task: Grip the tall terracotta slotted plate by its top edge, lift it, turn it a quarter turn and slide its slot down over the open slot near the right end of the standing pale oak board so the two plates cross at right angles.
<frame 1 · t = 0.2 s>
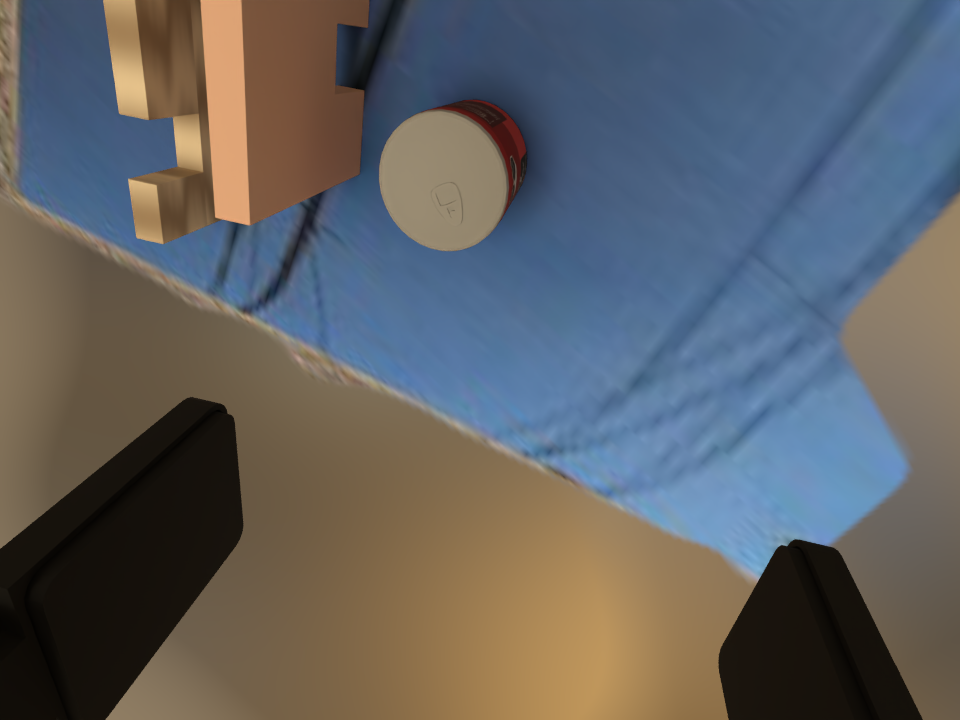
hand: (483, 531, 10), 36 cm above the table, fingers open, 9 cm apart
canned food: (477, 156, 42), on the table
terracotta plate: (352, 57, 40), on the table
oak board: (225, 91, 43), on the table
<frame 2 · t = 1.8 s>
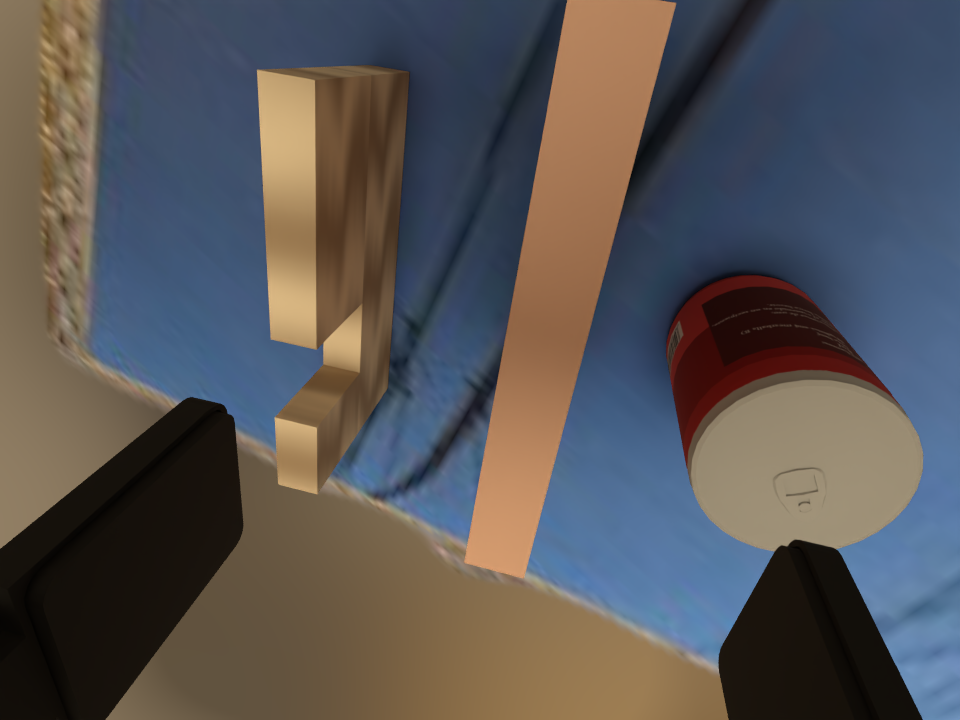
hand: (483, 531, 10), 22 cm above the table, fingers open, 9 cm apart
canned food: (739, 339, 30), on the table
terracotta plate: (573, 211, 28), on the table
oak board: (379, 249, 31), on the table
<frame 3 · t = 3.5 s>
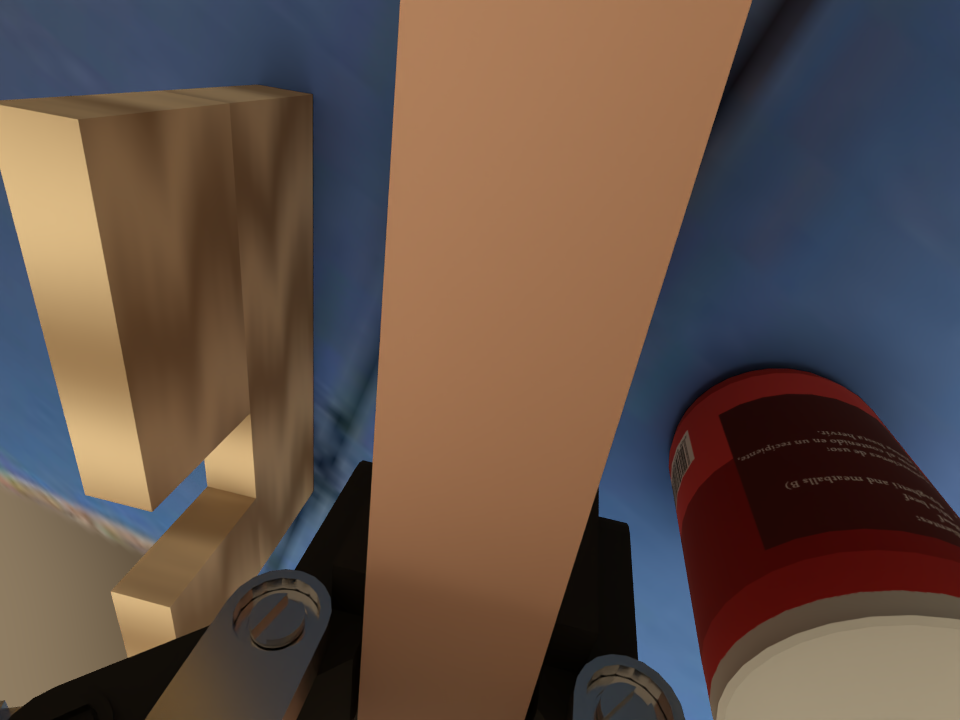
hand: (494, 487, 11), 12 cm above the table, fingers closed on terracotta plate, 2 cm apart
canned food: (765, 446, 23), on the table
terracotta plate: (544, 282, 21), on the table, touching gripper
oak board: (290, 324, 24), on the table
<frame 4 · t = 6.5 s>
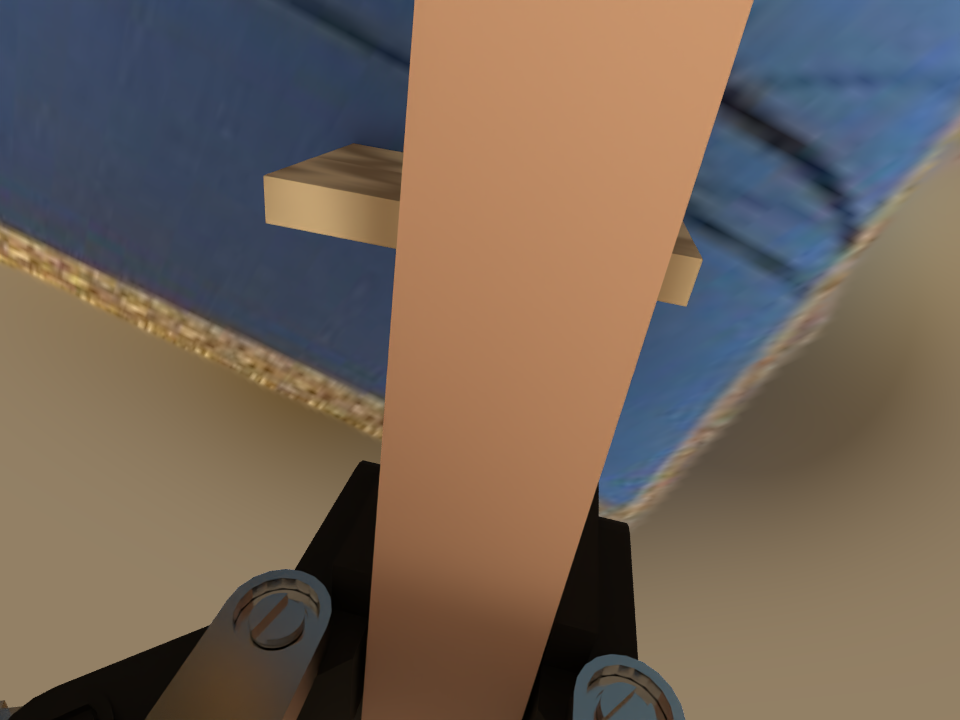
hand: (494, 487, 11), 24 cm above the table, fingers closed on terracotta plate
terracotta plate: (545, 280, 21), point 12 cm above the table, touching gripper
oak board: (505, 190, 32), on the table
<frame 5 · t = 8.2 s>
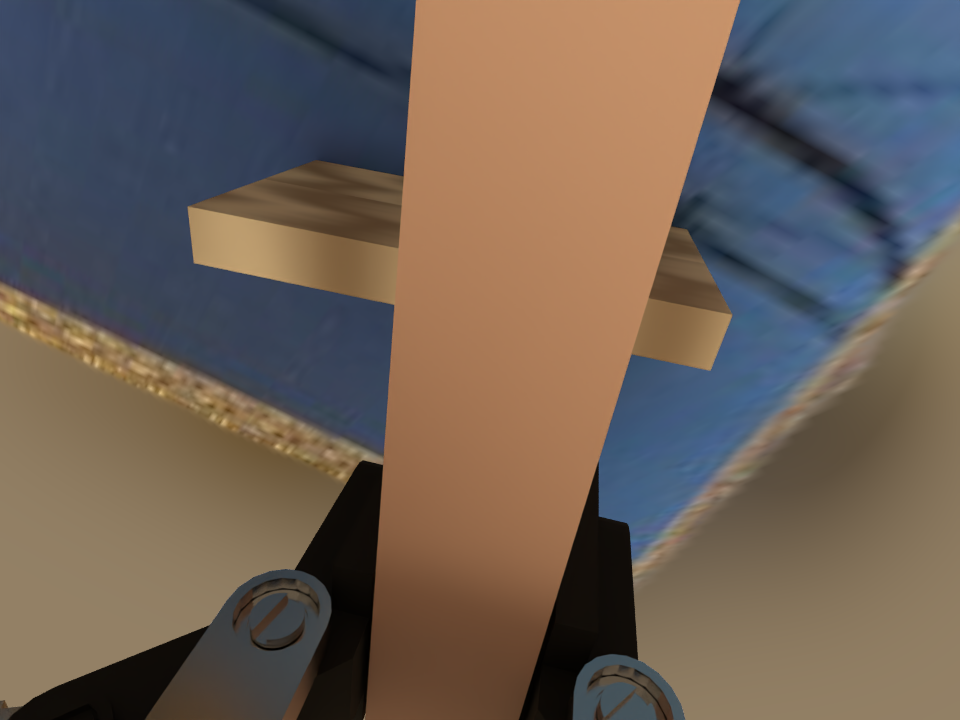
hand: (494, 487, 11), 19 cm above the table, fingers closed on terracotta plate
terracotta plate: (545, 278, 21), point 7 cm above the table, touching gripper
oak board: (492, 214, 27), on the table
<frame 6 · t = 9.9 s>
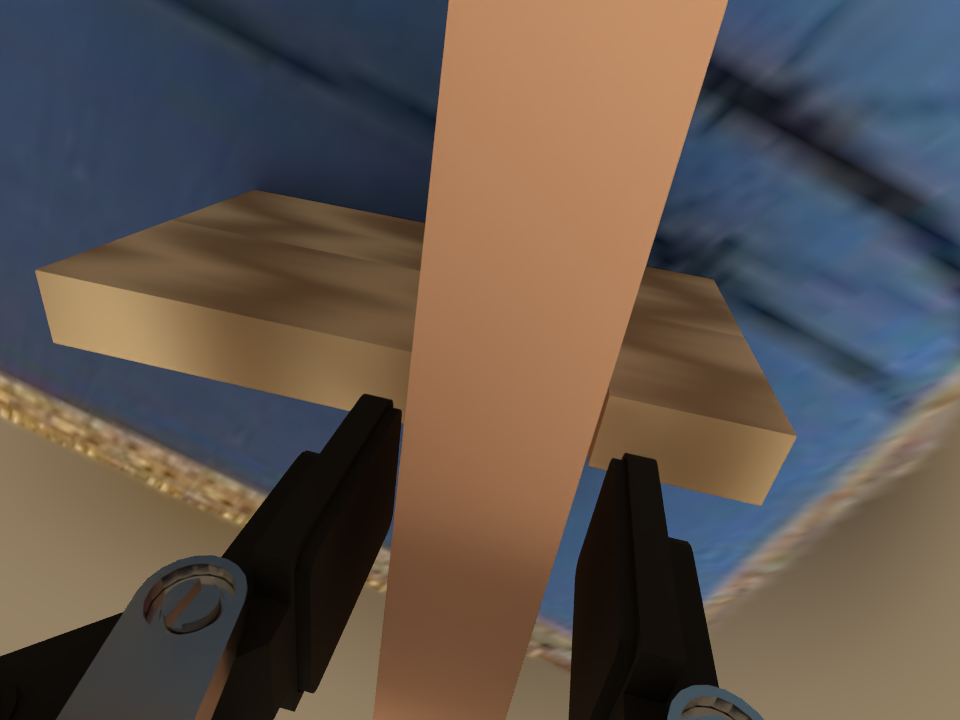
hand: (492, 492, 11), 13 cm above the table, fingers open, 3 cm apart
terracotta plate: (546, 271, 22), on the table
oak board: (471, 257, 22), on the table
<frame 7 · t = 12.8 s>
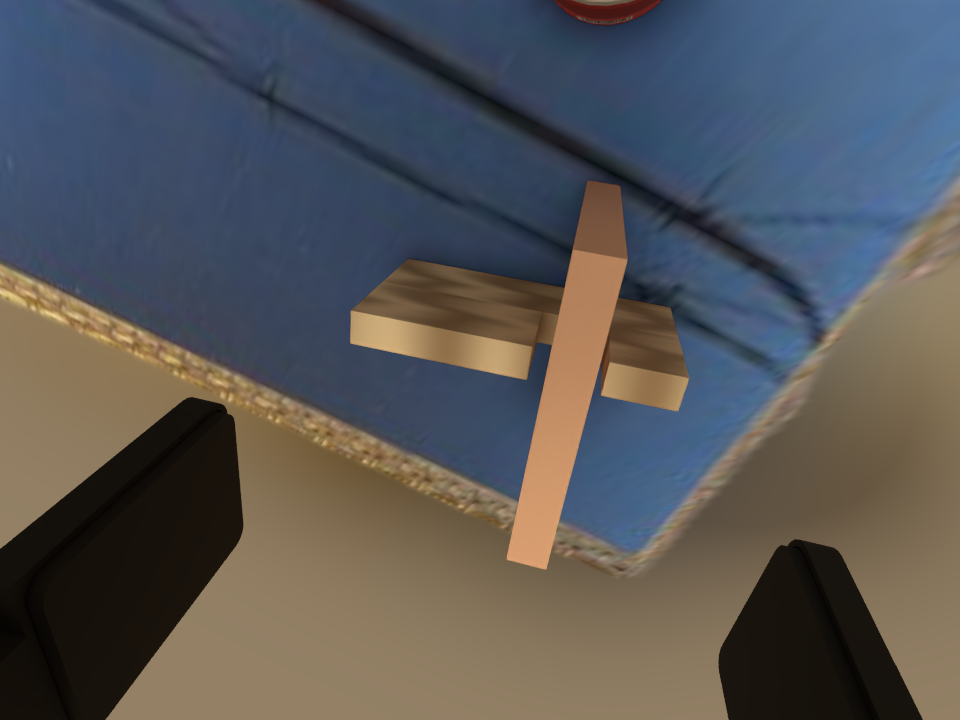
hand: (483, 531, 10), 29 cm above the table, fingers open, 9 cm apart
terracotta plate: (576, 303, 38), on the table
oak board: (533, 296, 39), on the table
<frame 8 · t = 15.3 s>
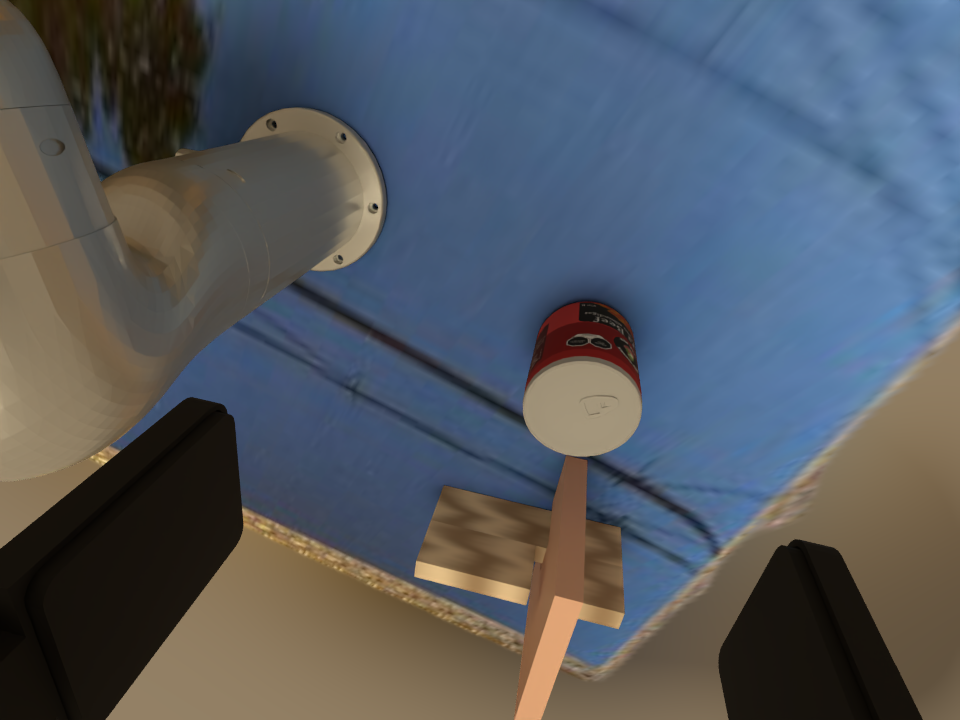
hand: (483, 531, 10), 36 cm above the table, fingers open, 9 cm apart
canned food: (584, 339, 47), on the table
terracotta plate: (558, 519, 57), on the table
oak board: (529, 513, 57), on the table
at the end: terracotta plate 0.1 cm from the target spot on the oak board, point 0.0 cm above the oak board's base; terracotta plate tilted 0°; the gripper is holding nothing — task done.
